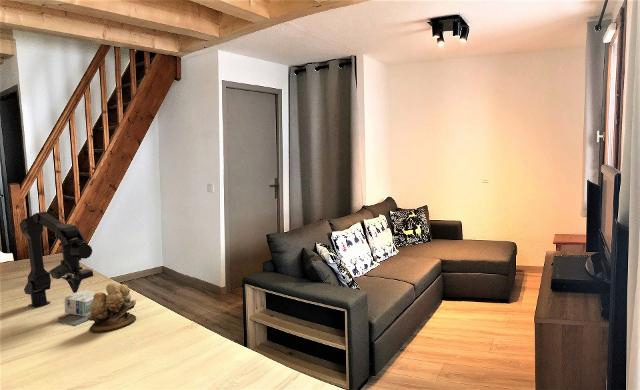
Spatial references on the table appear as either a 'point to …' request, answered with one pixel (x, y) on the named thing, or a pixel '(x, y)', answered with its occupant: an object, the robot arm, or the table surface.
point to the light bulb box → (79, 303)
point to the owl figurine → (111, 309)
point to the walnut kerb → (64, 316)
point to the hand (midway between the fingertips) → (75, 292)
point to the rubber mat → (74, 319)
